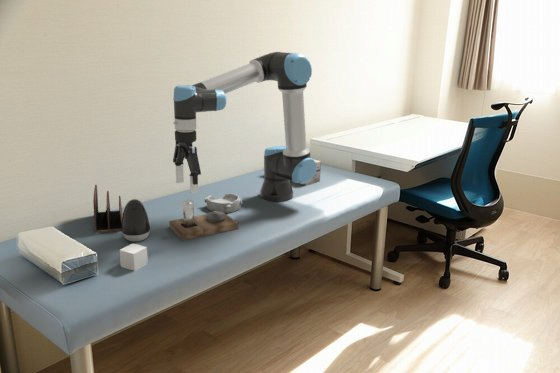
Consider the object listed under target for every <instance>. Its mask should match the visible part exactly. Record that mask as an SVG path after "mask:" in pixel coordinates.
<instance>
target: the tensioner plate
mask: <svg viewBox="0 0 560 373" xmlns="http://www.w3.org/2000/svg"><path fill="white" fill-rule="evenodd" d="M168 223H169V229H171V230H172V231H173V232H174V233H175V234H176V235H177V236H178V237H179V238H180V239H181V240H183V241H186V240H192V239H196V238H200V237H205V236H210V235H215V234H219V233H225V232H229V231H233V230H234V231H235V230H238V229H239V227H238V226H239V224H238V223H239V222H238V221H237V220H235V219H233V218H232V217H230V216H229V215H227V213H223V212H222V211H221V212H217V211H209V212H207V213H205V214H200V215H194V227H189V228H184V227H183V218H179V219H173V220H169V222H168Z"/></svg>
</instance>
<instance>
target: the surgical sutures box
mask: <svg viewBox="0 0 560 373" xmlns="http://www.w3.org/2000/svg"><path fill="white" fill-rule="evenodd" d="M312 159H313V160H314V161H315V162H316V166H317V167H316V172H315V175H314V176H313V178H312V179H311V180H310V181H309V182H307V183H304V184H303V185H302V186H305V185H306V186H305V187H307V186H310V185H312V184H313V185H314V184H317V183H319V182H321V172H322V171H321V170H322V169H321V168H322V167H321V166H322V161H321V160H317V159H314V158H312ZM290 182H291V180H290Z"/></svg>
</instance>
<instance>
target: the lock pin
mask: <svg viewBox="0 0 560 373" xmlns="http://www.w3.org/2000/svg"><path fill="white" fill-rule="evenodd" d="M194 206H195V205H194V201H193V200H192V199H191V200H189V199H187V200H183V201H182V219H183V227H184V228H189V227H194V216H195V213H194V212H195V209H194V208H195V207H194Z"/></svg>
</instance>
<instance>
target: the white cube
mask: <svg viewBox="0 0 560 373" xmlns="http://www.w3.org/2000/svg"><path fill="white" fill-rule="evenodd" d="M148 259H149V258H148V247H147V246H144V245H140V244H136V243H134V242H132V243H130V244H129V245H126V246H125V247H123V248H120V249H119V260H120V267H121V268H124V269H126V270H130V271H134V272H135V271H138V270H139V269H141V268H143V267H144V266H146V265H148V264H149V262H148Z"/></svg>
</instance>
